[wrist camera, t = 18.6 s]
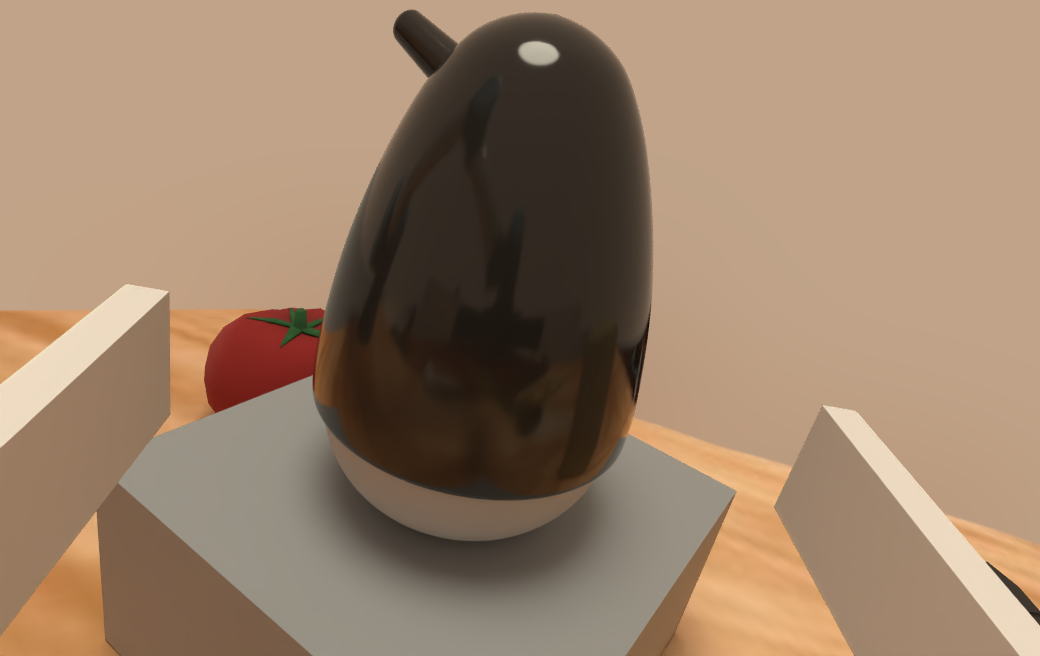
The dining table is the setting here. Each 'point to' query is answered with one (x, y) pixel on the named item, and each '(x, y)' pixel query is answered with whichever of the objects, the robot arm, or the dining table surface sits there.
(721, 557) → the dining table surface
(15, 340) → the dining table surface
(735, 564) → the dining table surface
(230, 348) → the tomato
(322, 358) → the pump dispenser
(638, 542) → the slate block
